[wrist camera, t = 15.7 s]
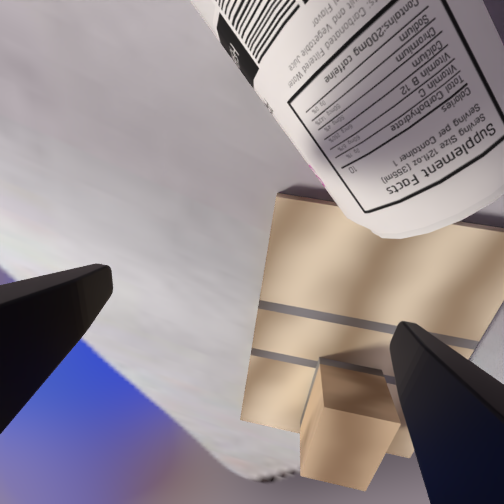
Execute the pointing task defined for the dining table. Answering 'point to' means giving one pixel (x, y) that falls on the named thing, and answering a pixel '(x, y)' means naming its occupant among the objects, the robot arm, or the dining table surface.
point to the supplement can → (380, 100)
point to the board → (361, 302)
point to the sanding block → (346, 424)
